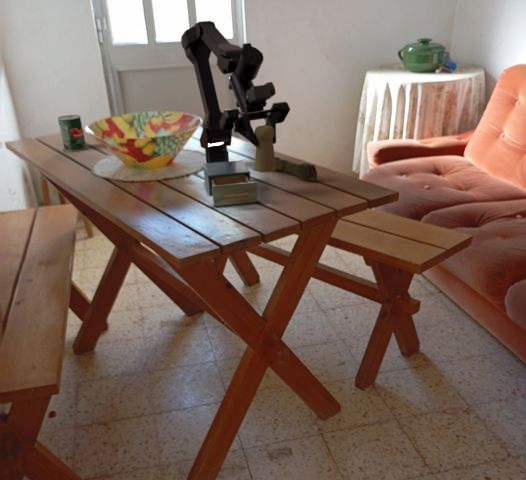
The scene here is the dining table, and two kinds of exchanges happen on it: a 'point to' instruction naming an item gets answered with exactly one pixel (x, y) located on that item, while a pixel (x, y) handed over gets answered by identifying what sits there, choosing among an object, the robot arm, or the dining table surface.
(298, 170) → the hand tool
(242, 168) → the cabinet
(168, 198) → the dining table surface
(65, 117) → the canned tomato
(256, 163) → the pawn game piece
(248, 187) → the drawer
